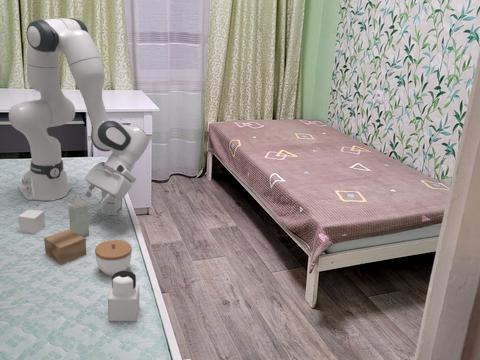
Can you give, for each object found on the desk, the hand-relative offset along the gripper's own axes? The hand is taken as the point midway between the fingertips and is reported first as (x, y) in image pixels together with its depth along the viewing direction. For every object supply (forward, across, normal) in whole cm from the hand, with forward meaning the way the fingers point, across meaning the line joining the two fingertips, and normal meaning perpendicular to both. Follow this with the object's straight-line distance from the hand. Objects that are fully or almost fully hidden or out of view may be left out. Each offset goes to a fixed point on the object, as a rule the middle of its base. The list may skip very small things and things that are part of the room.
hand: (93, 200), depth 170 cm
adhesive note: (+20, -14, -3) cm, 24 cm away
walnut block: (+20, +9, -3) cm, 22 cm away
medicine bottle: (+23, +47, -6) cm, 52 cm away
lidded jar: (+15, +27, +1) cm, 31 cm away
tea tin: (+12, 0, +4) cm, 13 cm away
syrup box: (-1, -9, +18) cm, 20 cm away
